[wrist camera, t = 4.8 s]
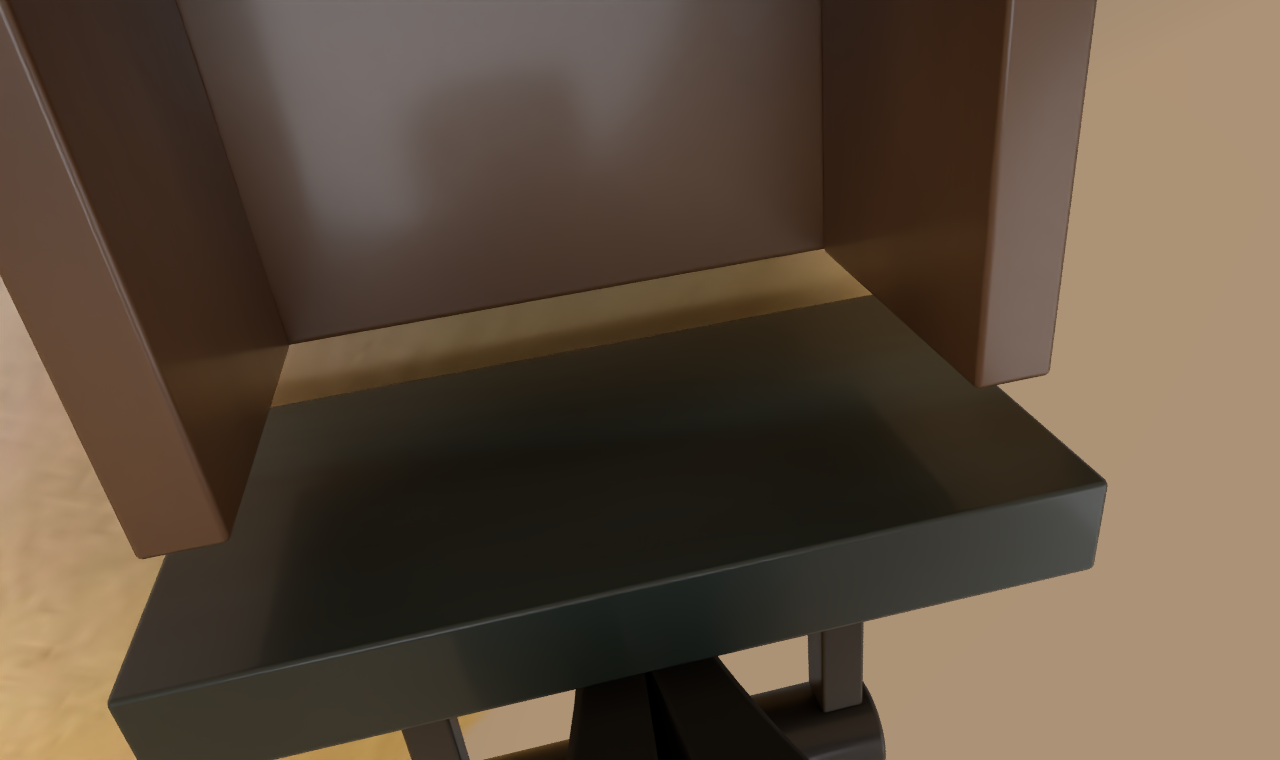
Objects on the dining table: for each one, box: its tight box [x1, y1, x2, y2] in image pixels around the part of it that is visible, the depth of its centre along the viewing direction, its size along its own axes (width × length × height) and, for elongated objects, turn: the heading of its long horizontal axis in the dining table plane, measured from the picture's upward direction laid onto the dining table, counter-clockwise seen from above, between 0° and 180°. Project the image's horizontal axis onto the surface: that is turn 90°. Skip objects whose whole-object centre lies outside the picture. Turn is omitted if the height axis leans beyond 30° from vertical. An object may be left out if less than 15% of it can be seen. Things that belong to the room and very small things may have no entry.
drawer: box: [0, 0, 1107, 760], centre depth 10 cm, size 17×10×5 cm, turn 6°
